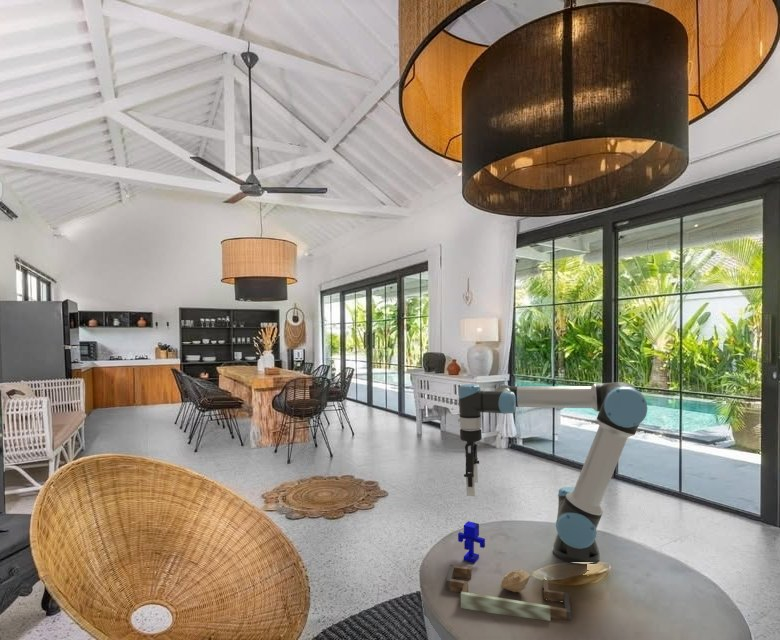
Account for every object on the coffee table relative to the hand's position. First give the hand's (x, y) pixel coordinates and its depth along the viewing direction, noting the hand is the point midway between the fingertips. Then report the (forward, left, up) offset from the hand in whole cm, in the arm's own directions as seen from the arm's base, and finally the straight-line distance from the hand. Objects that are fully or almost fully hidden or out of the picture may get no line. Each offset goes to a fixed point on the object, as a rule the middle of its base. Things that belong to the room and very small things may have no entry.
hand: (472, 488), depth 163 cm
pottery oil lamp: (-14, +18, -23) cm, 33 cm away
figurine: (0, +4, -23) cm, 24 cm away
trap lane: (-12, +18, -23) cm, 32 cm away
